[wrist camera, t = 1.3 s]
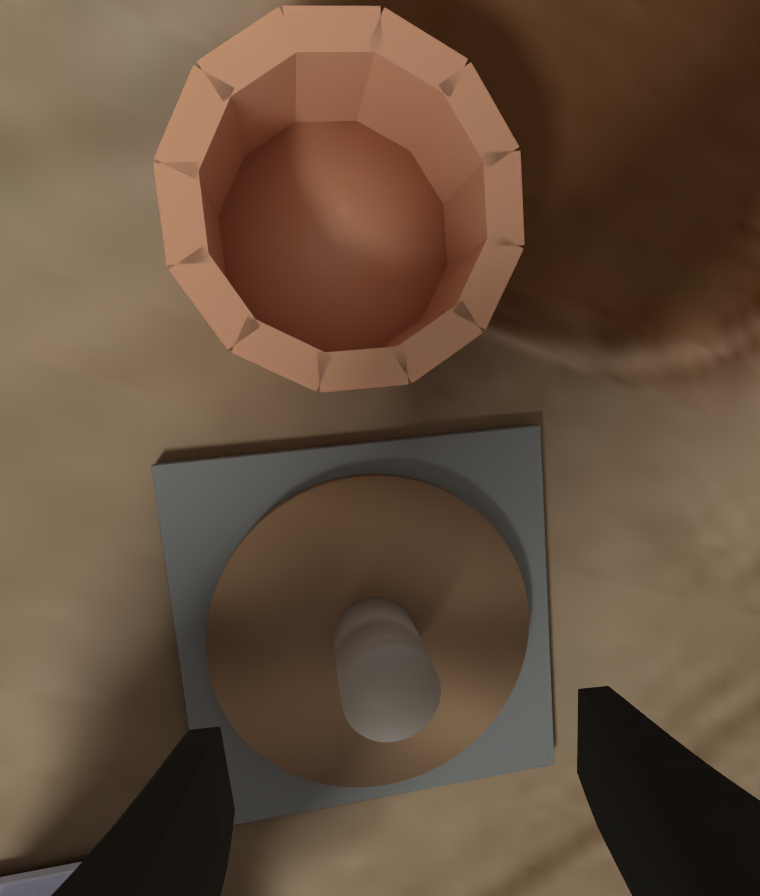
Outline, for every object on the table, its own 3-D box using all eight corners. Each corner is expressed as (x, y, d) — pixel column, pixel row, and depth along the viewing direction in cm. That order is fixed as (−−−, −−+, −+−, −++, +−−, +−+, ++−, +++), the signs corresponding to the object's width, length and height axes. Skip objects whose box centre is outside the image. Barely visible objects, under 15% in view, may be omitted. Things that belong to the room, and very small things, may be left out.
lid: (528, 745, 22) (583, 833, 17) (229, 799, 20) (213, 910, 16) (513, 457, 20) (571, 479, 16) (188, 492, 18) (158, 528, 14)
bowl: (477, 372, 20) (530, 373, 15) (210, 396, 19) (185, 404, 14) (461, 92, 19) (514, 6, 14) (172, 97, 17) (132, 5, 13)
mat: (548, 755, 22) (554, 764, 22) (205, 819, 21) (203, 830, 20) (534, 424, 20) (540, 425, 20) (154, 463, 19) (151, 466, 18)
